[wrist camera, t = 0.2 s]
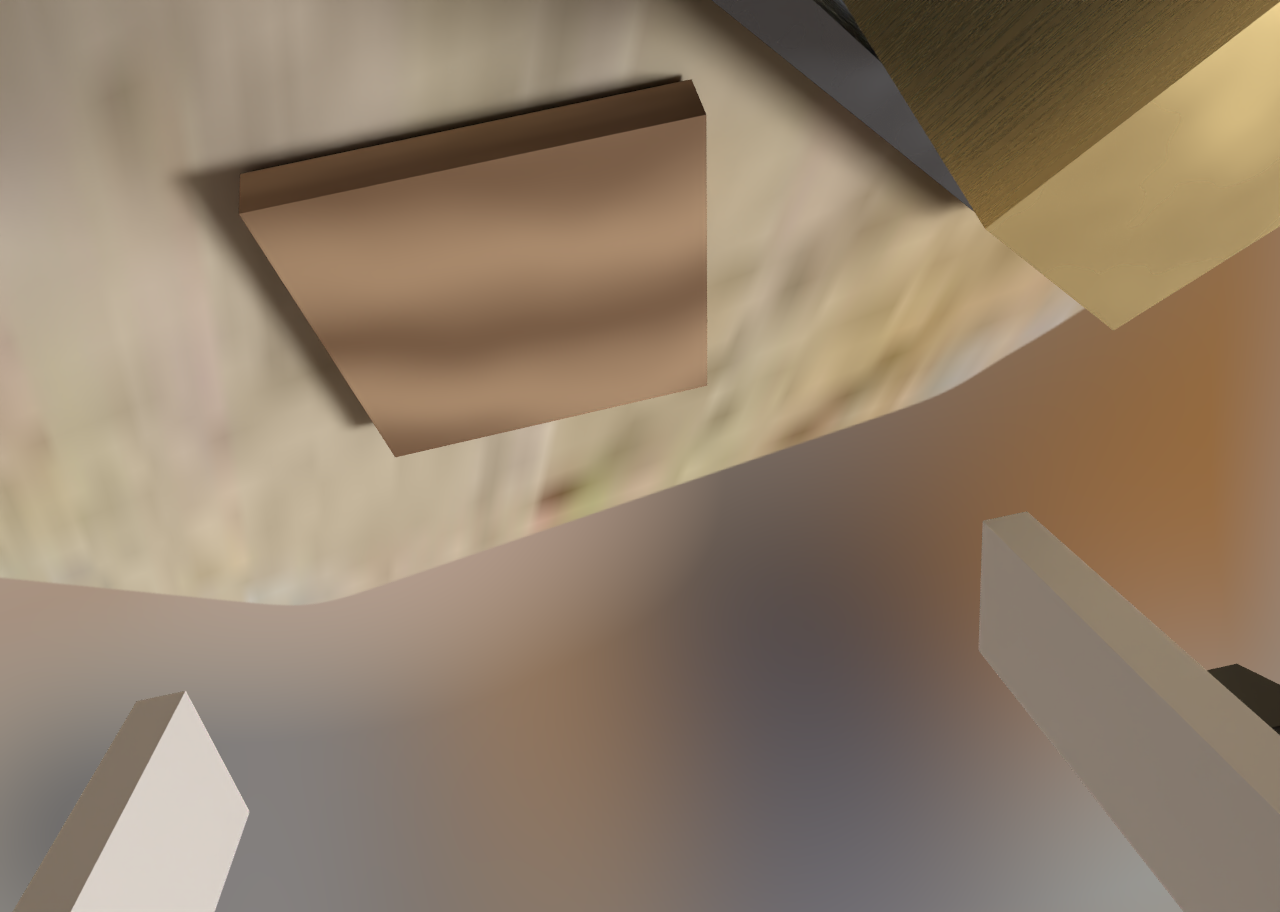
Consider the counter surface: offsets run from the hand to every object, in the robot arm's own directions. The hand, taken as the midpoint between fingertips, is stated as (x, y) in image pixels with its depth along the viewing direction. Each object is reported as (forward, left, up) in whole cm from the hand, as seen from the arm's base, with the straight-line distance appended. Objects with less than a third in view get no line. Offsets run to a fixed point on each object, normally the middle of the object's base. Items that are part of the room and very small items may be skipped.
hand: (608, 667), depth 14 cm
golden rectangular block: (-5, +10, -15) cm, 18 cm away
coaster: (+6, -1, -15) cm, 16 cm away
